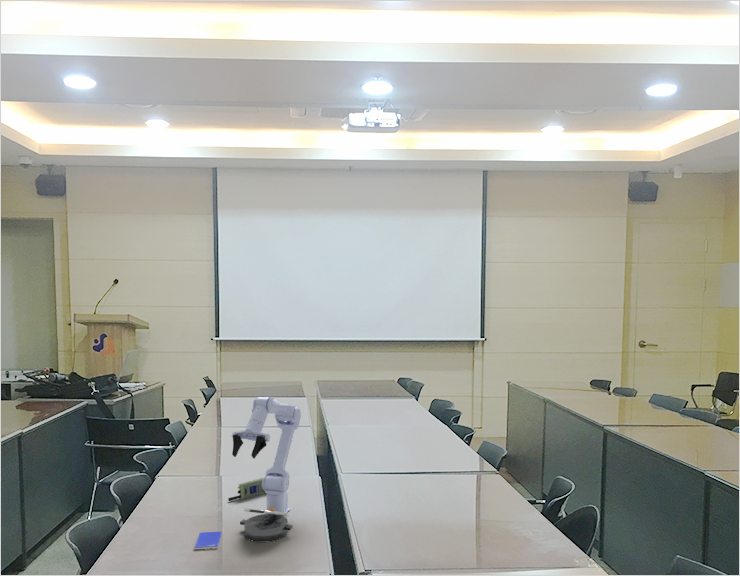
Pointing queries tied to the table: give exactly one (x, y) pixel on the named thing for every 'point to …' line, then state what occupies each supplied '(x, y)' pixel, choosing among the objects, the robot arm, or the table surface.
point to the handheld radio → (249, 489)
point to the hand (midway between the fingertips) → (243, 456)
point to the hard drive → (208, 540)
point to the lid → (266, 511)
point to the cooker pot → (265, 527)
